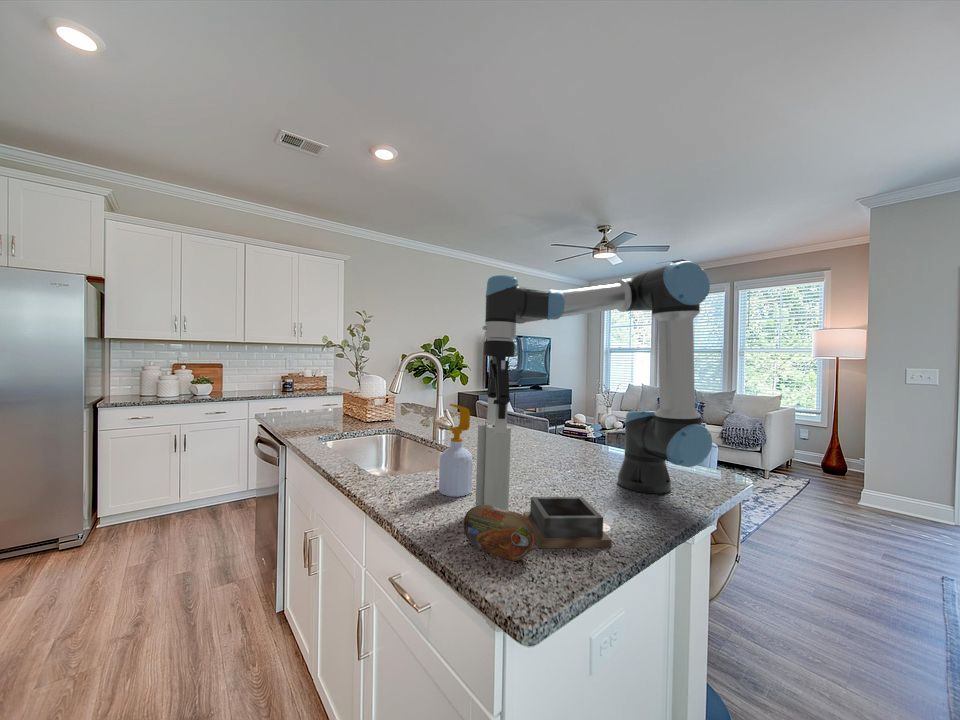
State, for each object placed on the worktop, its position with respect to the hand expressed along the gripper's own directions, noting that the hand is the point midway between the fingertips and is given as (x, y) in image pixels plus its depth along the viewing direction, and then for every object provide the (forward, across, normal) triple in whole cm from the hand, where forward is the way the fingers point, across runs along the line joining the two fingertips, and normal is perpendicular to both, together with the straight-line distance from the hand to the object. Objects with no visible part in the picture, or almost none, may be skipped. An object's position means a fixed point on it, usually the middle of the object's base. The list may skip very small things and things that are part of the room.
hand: (496, 427), depth 98 cm
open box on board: (+21, +11, +14) cm, 28 cm away
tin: (+21, +19, -2) cm, 29 cm away
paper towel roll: (+21, 0, 0) cm, 21 cm away
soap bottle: (+21, -15, -8) cm, 27 cm away
